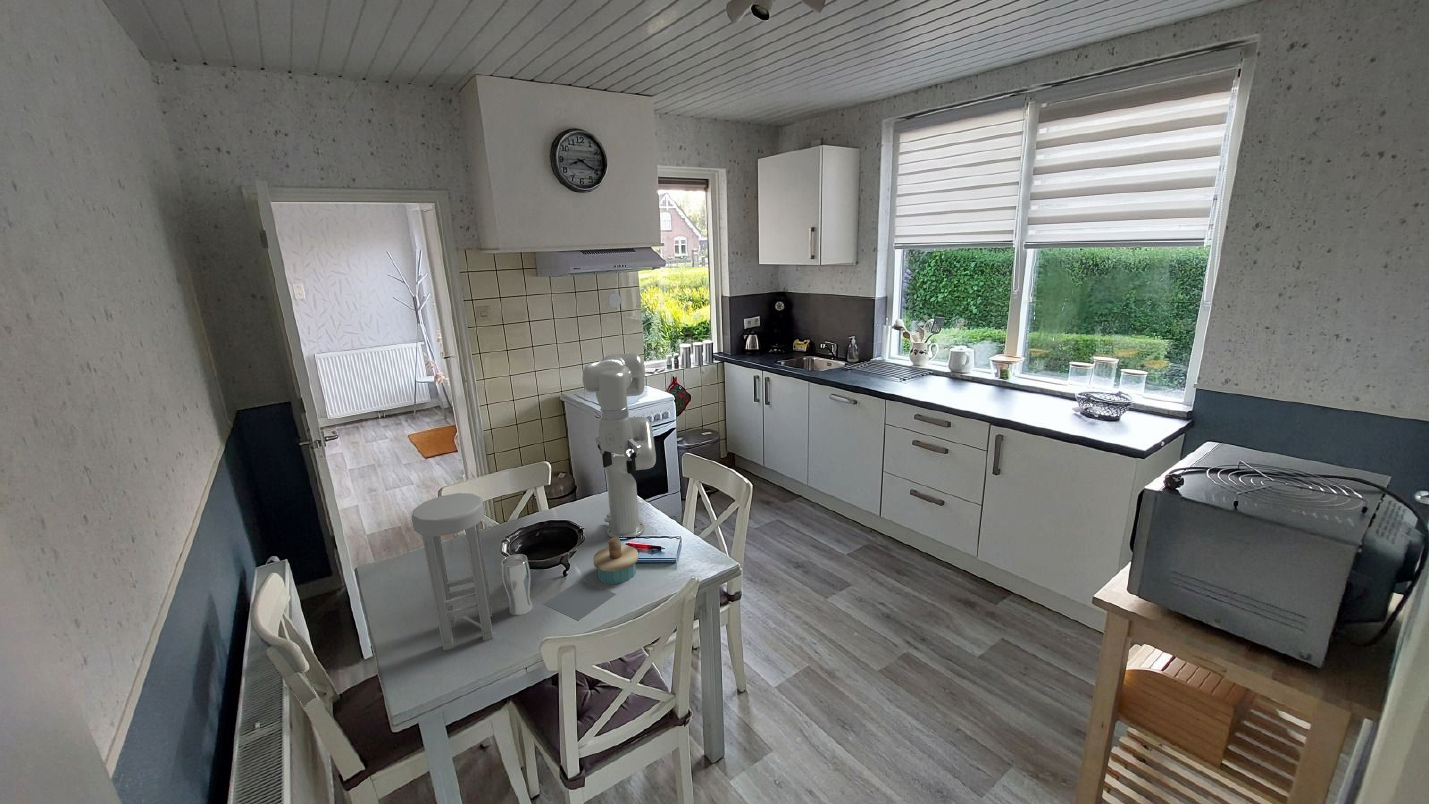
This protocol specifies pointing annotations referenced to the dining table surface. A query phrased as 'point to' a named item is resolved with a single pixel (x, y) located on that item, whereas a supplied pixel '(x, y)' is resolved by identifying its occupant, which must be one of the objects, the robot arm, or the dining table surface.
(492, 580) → the dining table surface
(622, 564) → the lid
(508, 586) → the beer glass
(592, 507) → the dining table surface
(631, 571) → the bowl
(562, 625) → the dining table surface
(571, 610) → the mat
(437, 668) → the dining table surface
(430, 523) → the stool
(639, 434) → the robot arm
